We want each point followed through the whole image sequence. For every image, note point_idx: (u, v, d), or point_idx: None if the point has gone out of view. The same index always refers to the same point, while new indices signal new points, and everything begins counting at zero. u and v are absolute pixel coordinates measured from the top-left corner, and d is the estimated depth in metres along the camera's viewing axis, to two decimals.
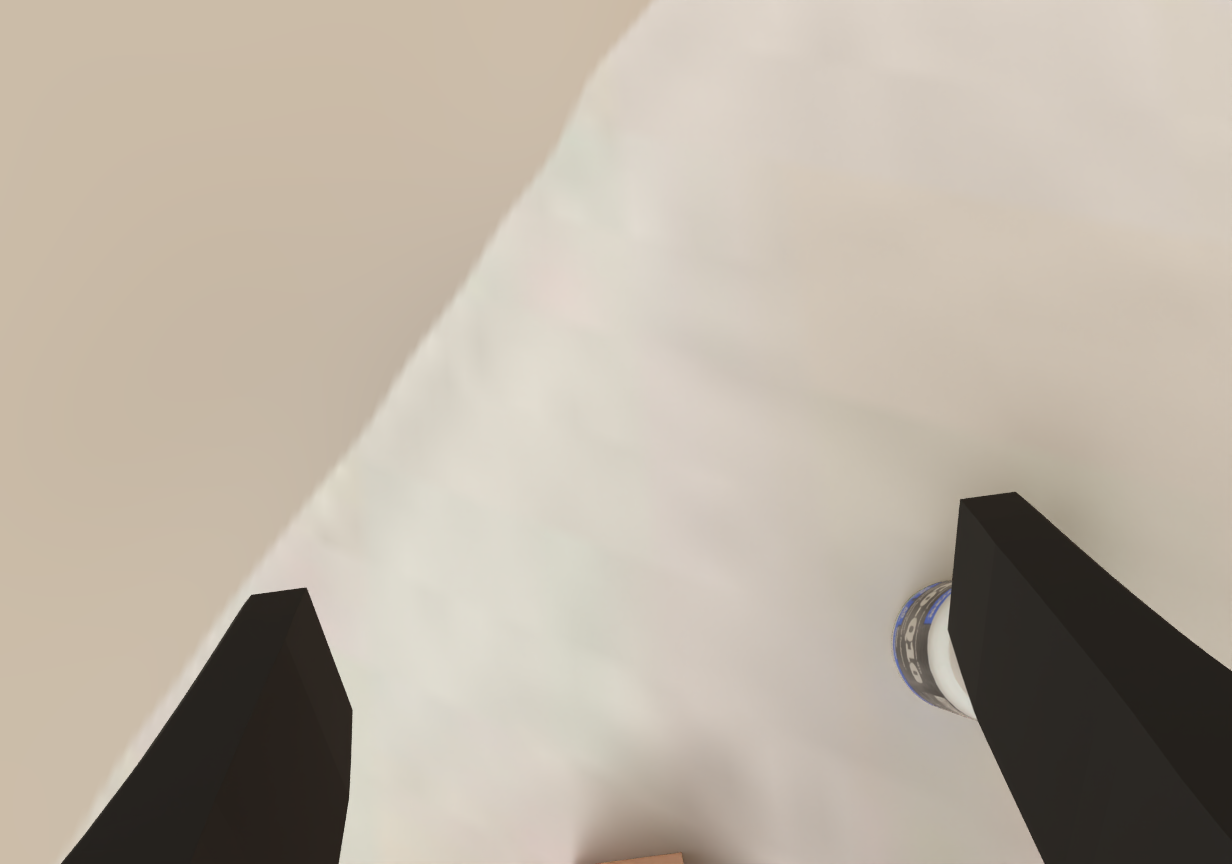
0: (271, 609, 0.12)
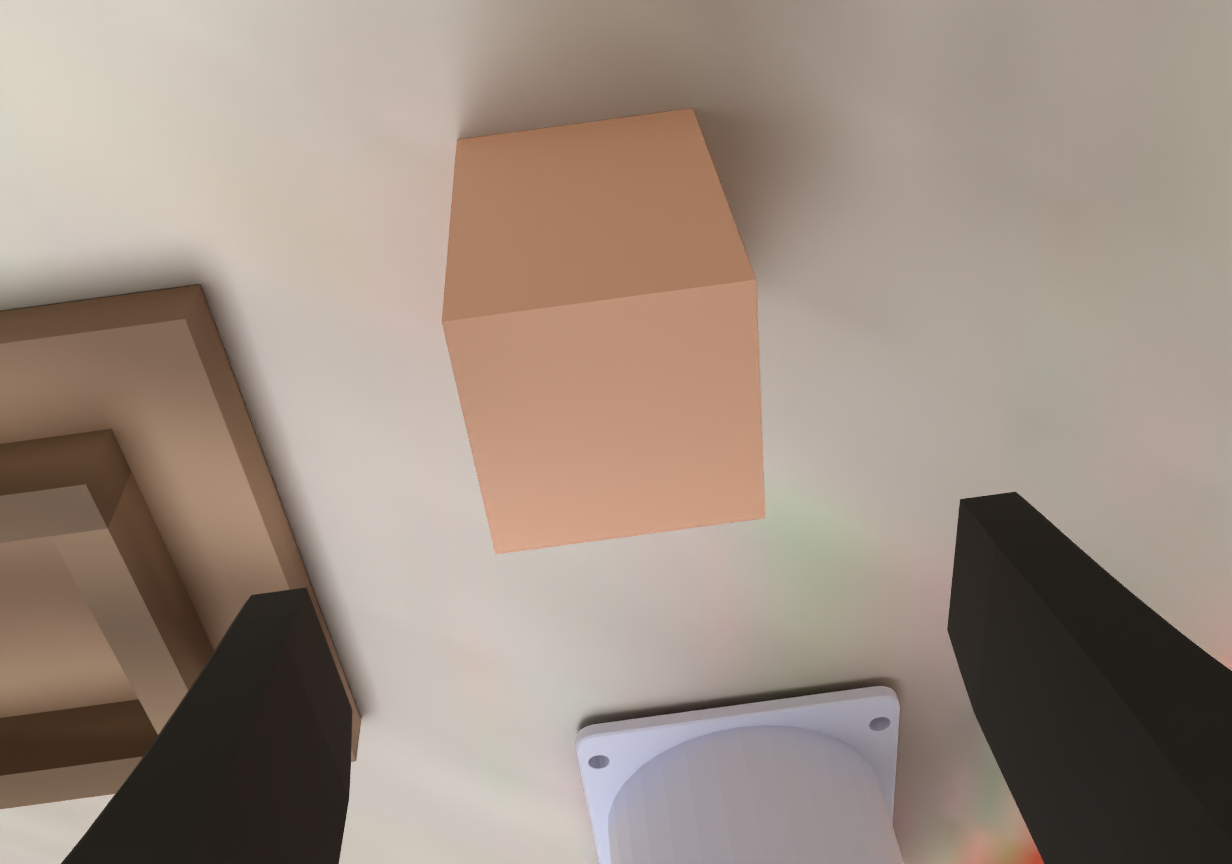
0: (271, 609, 0.12)
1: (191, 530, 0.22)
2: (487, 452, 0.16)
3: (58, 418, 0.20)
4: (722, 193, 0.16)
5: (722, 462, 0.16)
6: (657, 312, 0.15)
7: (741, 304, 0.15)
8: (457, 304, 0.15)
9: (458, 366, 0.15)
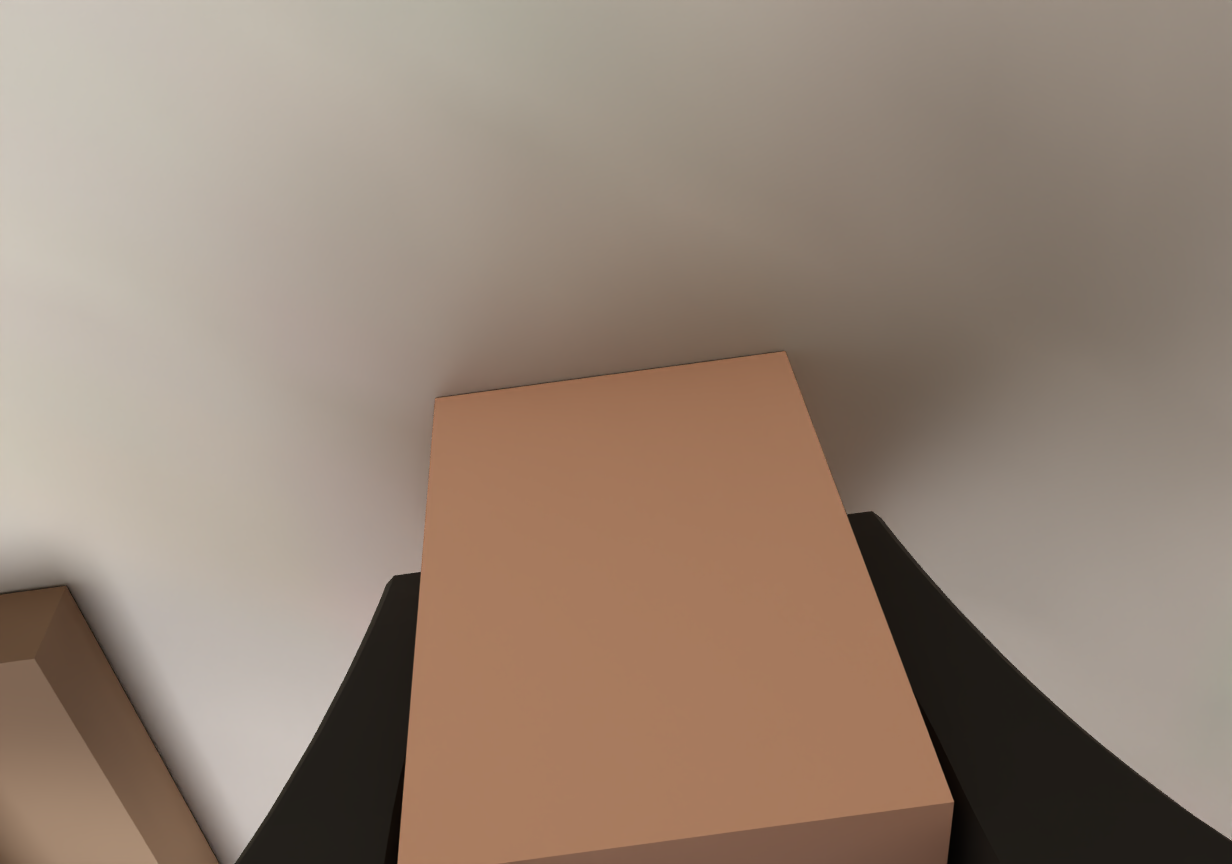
0: (418, 589, 0.12)
1: None
2: None
3: None
4: (859, 555, 0.10)
5: None
6: (777, 849, 0.08)
7: (923, 833, 0.08)
8: (425, 826, 0.08)
9: None
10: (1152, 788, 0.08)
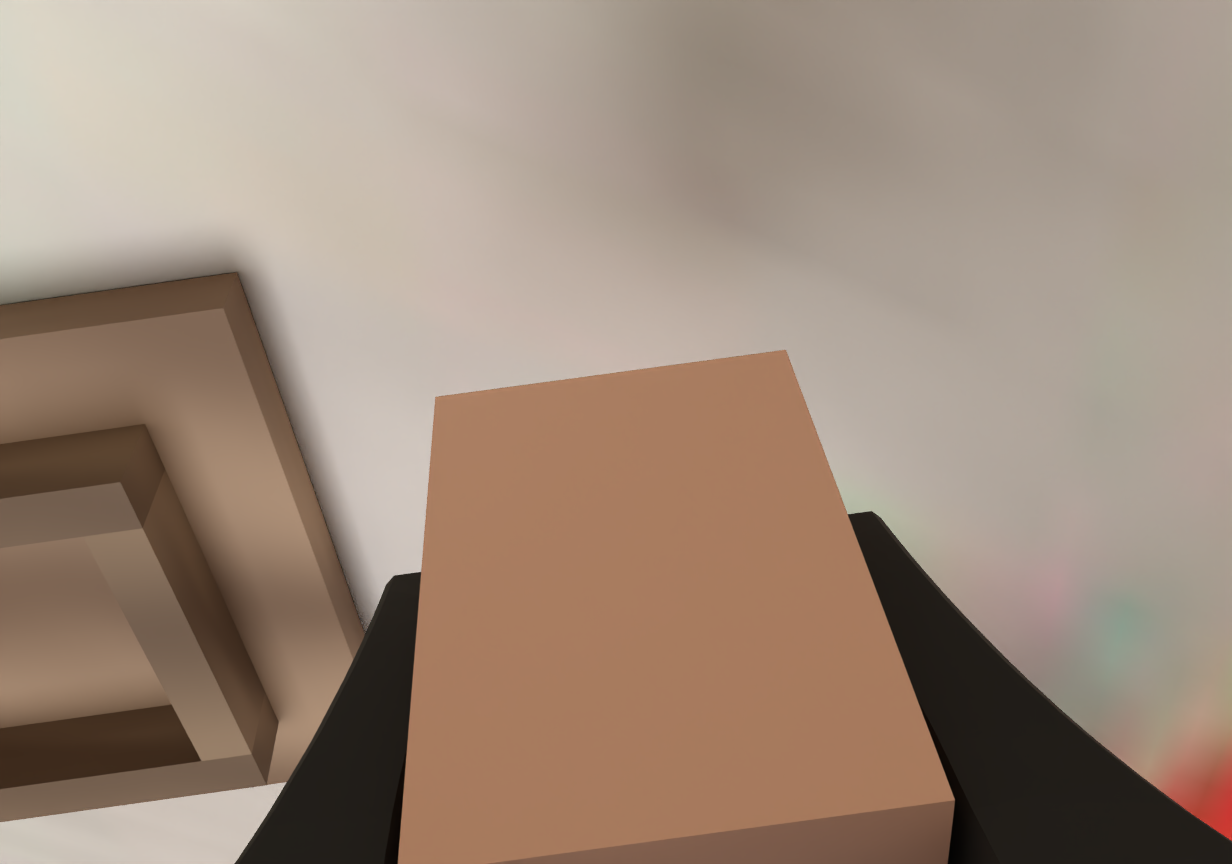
0: (418, 588, 0.12)
1: (226, 529, 0.21)
2: None
3: (89, 413, 0.19)
4: (859, 554, 0.10)
5: None
6: (778, 847, 0.08)
7: (924, 831, 0.08)
8: (425, 825, 0.08)
9: None
10: (1152, 788, 0.08)
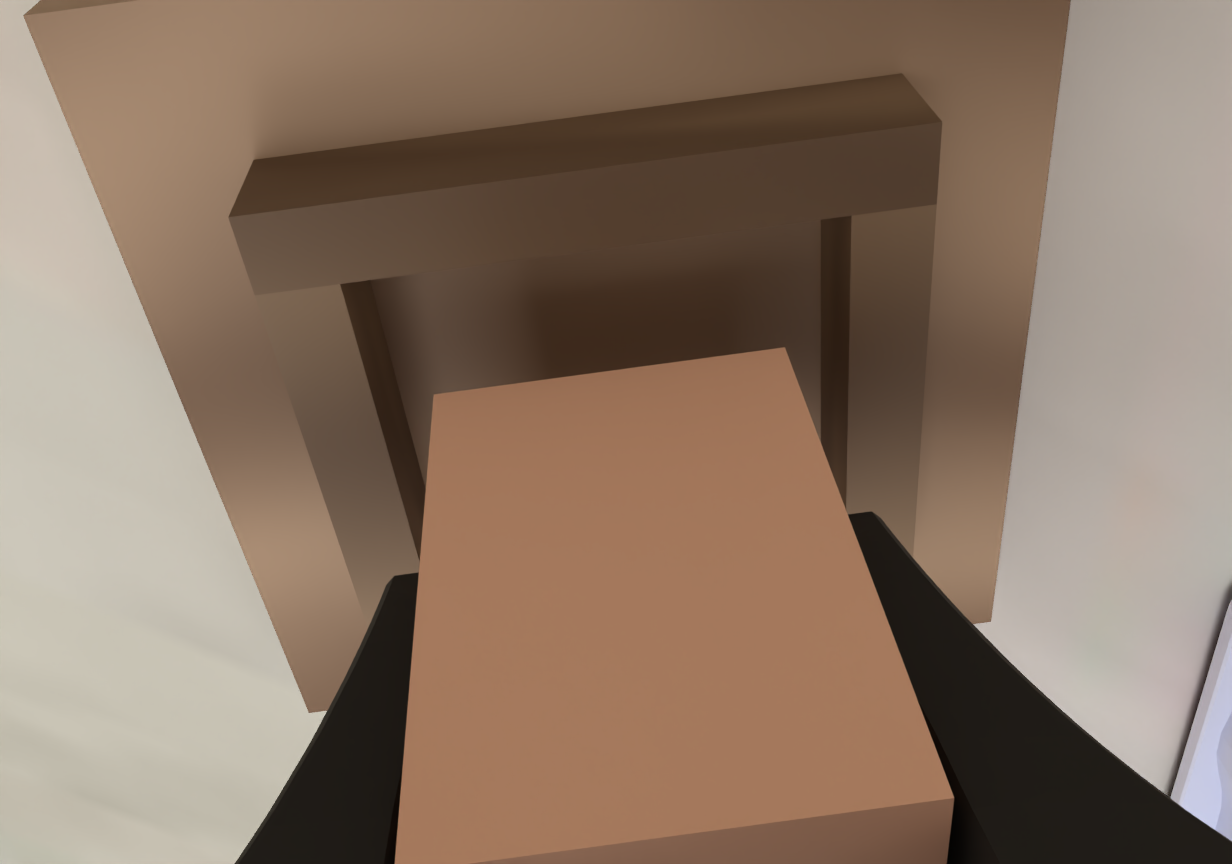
0: None
1: (937, 253, 0.15)
2: None
3: (835, 52, 0.14)
4: (858, 551, 0.10)
5: None
6: (776, 845, 0.08)
7: (923, 829, 0.08)
8: (423, 822, 0.08)
9: None
10: (1152, 788, 0.08)
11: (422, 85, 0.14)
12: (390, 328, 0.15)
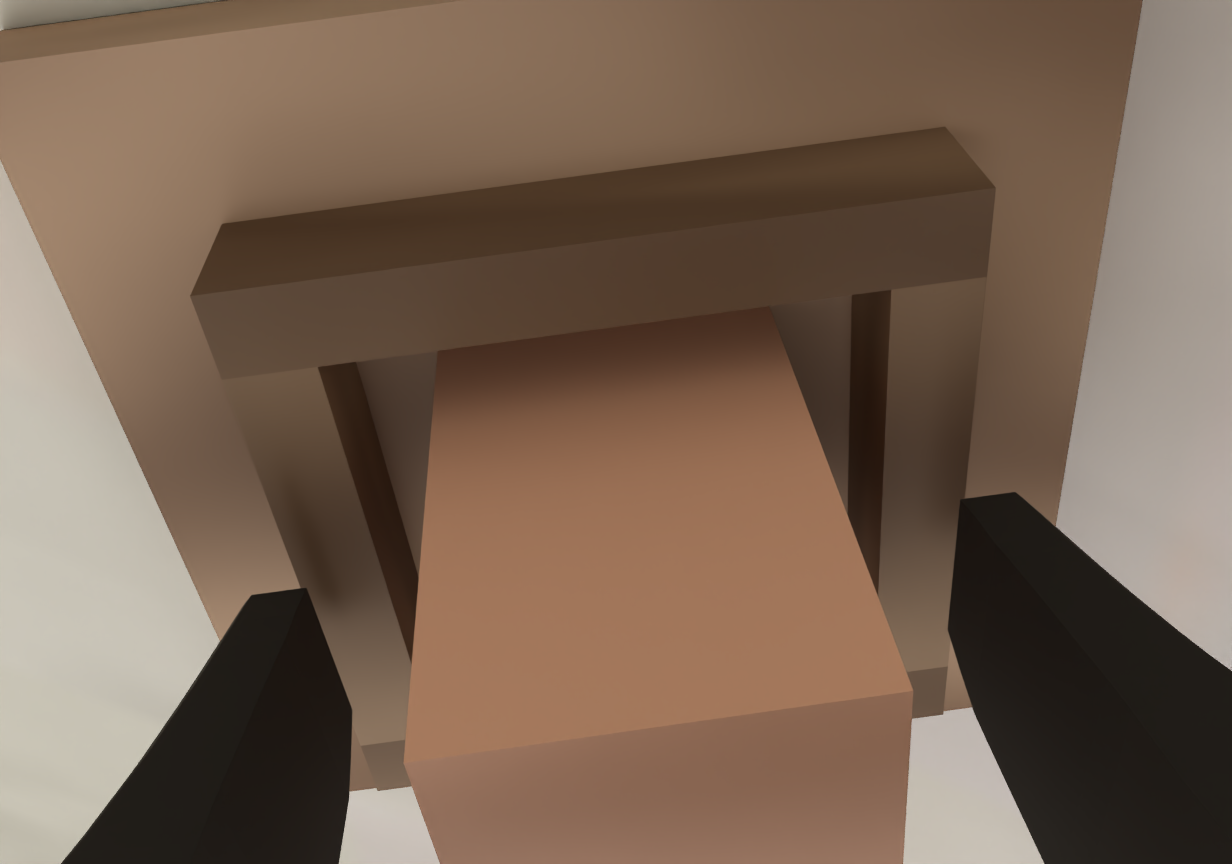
0: (271, 609, 0.12)
1: None
2: None
3: (871, 104, 0.12)
4: (832, 482, 0.11)
5: None
6: (752, 736, 0.09)
7: (886, 722, 0.09)
8: (429, 720, 0.09)
9: (432, 814, 0.09)
10: None
11: (410, 142, 0.12)
12: (376, 402, 0.14)
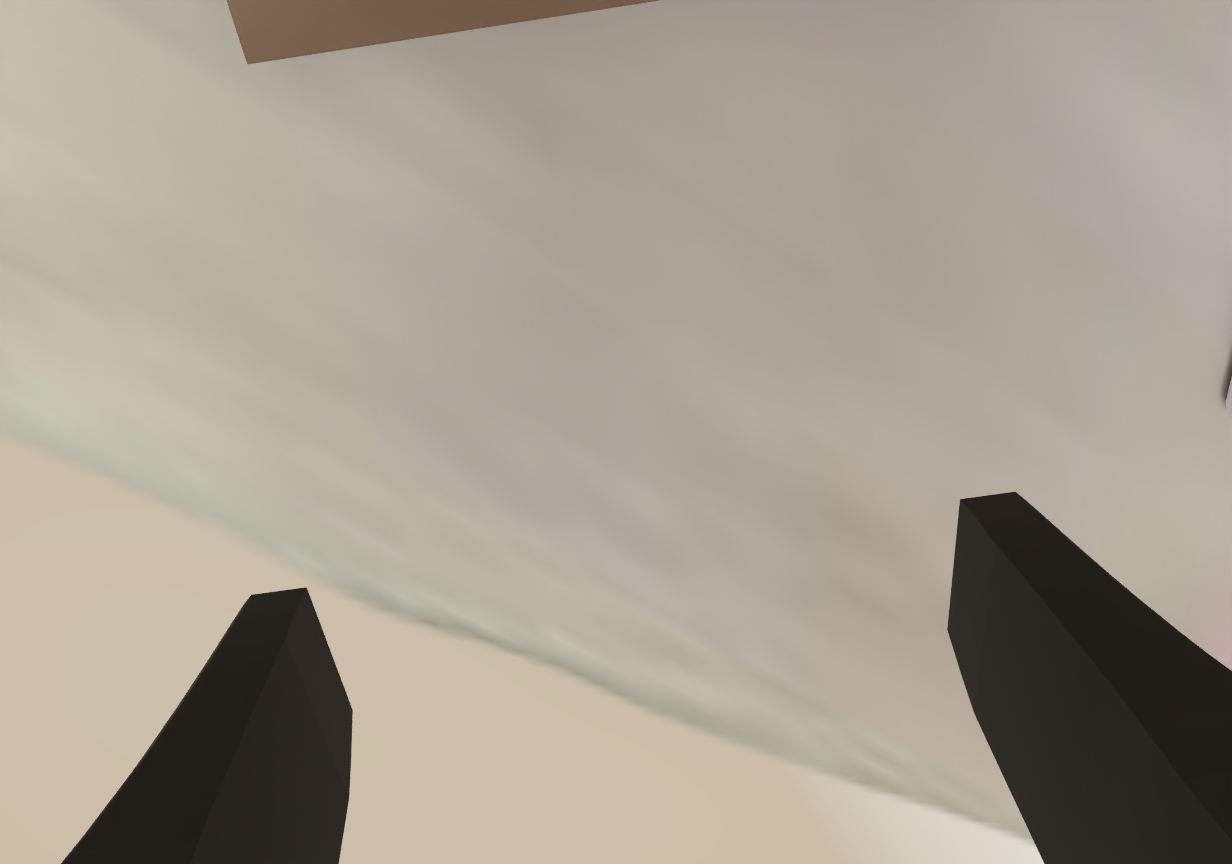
0: (271, 609, 0.12)
1: None
2: None
3: None
4: None
5: None
6: None
7: None
8: None
9: None
10: None
11: None
12: None
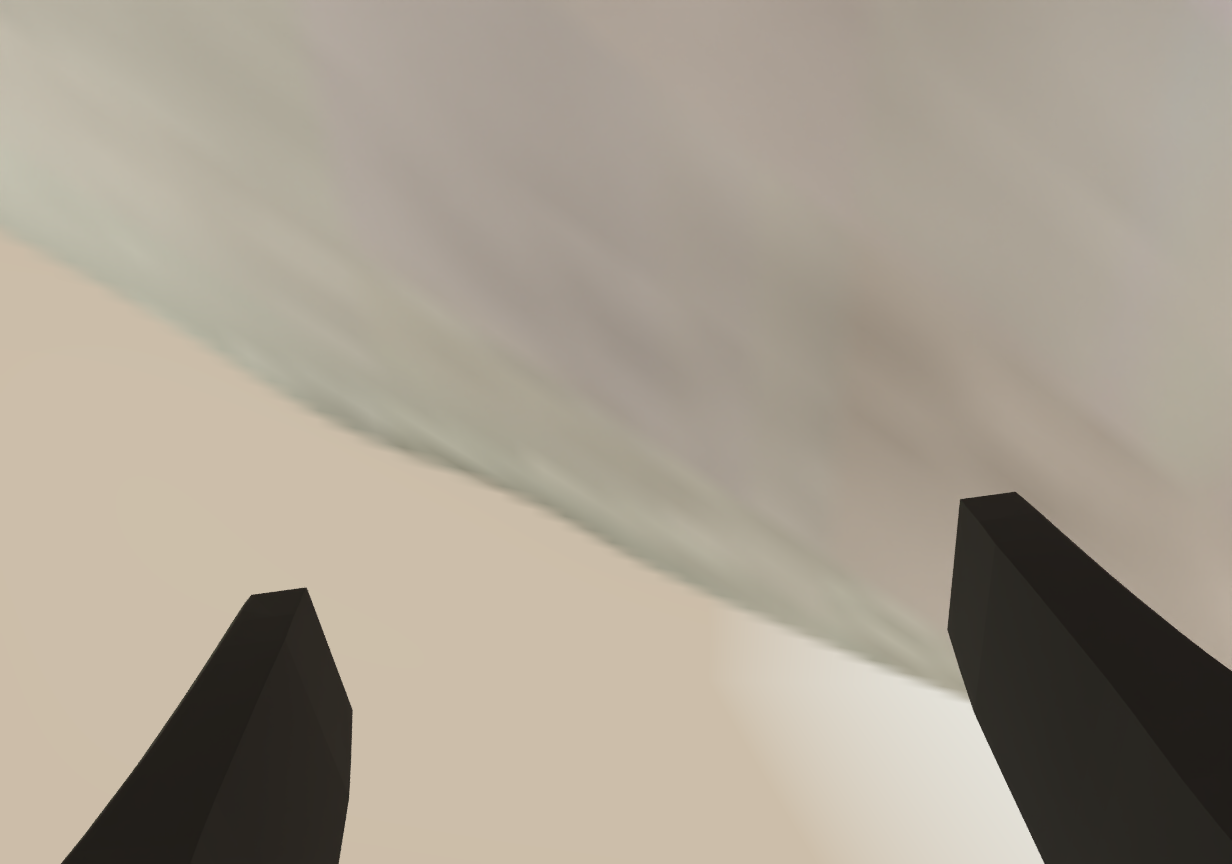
0: (271, 609, 0.12)
1: None
2: None
3: None
4: None
5: None
6: None
7: None
8: None
9: None
10: None
11: None
12: None
